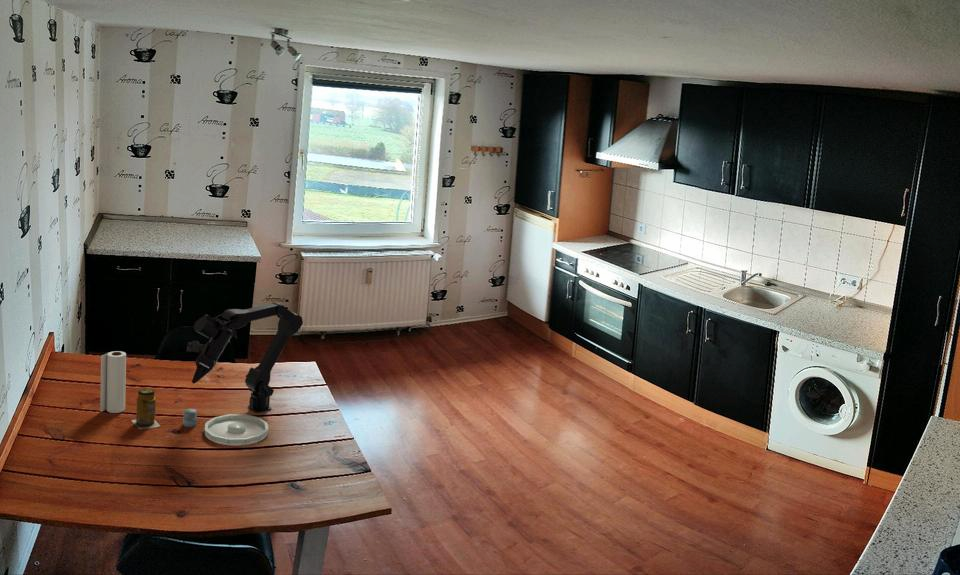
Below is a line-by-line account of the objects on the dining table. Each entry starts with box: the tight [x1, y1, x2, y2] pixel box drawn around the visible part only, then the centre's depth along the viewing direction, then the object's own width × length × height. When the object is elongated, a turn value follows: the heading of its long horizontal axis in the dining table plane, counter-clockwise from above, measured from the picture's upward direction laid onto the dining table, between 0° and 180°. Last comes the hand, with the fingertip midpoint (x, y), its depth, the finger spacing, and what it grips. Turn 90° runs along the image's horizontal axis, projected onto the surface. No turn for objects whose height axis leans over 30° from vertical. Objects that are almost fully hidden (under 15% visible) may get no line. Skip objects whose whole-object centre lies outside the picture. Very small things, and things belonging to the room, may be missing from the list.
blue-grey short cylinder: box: [182, 408, 198, 428], centre depth 291 cm, size 4×4×5 cm
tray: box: [204, 413, 269, 447], centre depth 290 cm, size 21×21×2 cm
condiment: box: [131, 387, 161, 430], centre depth 287 cm, size 7×8×12 cm
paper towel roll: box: [99, 350, 127, 414], centre depth 293 cm, size 7×6×21 cm
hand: (193, 382), depth 289 cm, fingers open, 9 cm apart
